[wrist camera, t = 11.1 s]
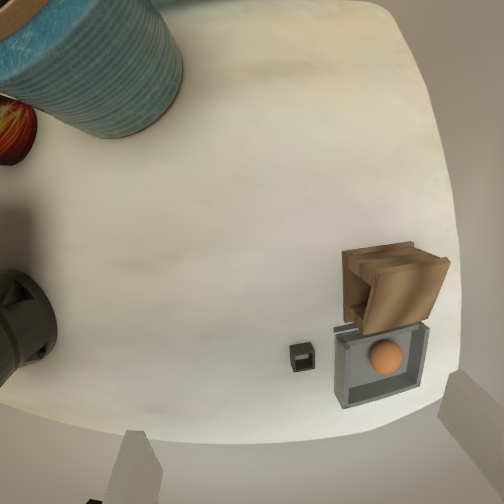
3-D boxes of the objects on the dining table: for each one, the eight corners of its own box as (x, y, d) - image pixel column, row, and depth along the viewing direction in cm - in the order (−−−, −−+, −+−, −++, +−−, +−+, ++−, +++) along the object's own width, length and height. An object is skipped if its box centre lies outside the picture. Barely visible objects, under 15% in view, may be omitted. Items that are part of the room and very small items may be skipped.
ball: (361, 358, 43) (373, 384, 39) (368, 338, 40) (382, 365, 36) (388, 350, 43) (401, 374, 39) (397, 330, 40) (412, 355, 36)
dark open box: (290, 363, 42) (293, 372, 40) (289, 345, 41) (292, 354, 39) (310, 359, 42) (315, 368, 40) (310, 342, 41) (314, 350, 39)
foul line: (333, 331, 41) (334, 332, 41) (333, 327, 41) (334, 328, 41) (415, 313, 42) (416, 313, 42) (416, 309, 42) (416, 309, 42)
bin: (334, 392, 44) (342, 409, 39) (335, 334, 42) (345, 350, 37) (407, 372, 44) (419, 386, 40) (414, 316, 42) (429, 328, 38)
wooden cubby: (343, 320, 41) (372, 355, 31) (341, 251, 39) (375, 271, 29) (408, 306, 42) (445, 333, 32) (410, 241, 39) (453, 257, 30)
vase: (50, 107, 32) (-93, 60, 6) (120, 15, 30) (39, -102, 4) (132, 163, 35) (-26, 136, 9) (210, 60, 33) (188, -101, 7)
